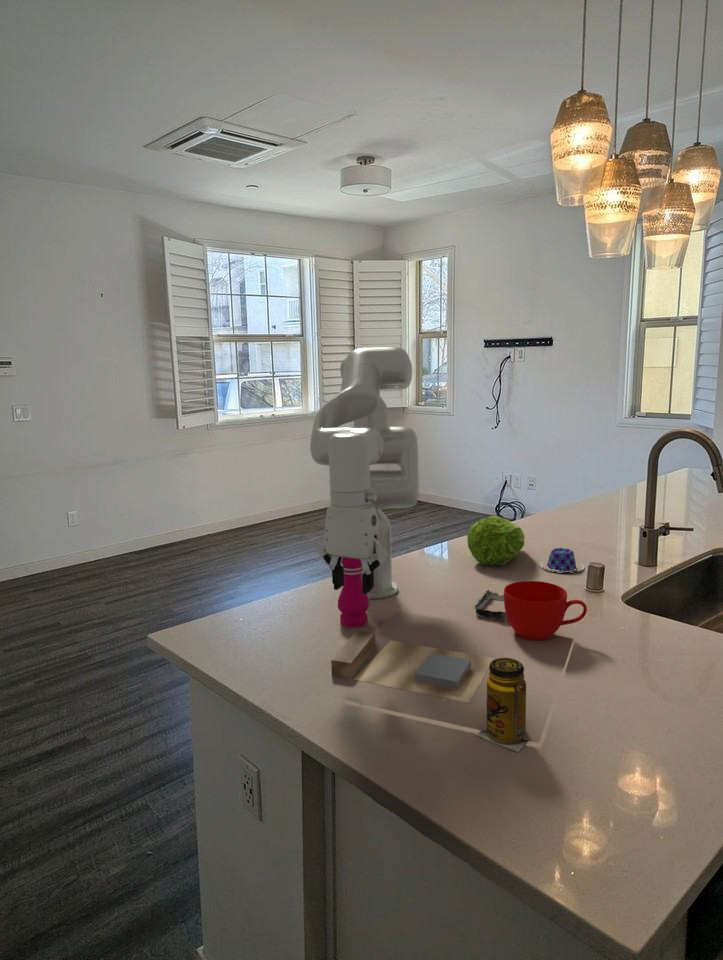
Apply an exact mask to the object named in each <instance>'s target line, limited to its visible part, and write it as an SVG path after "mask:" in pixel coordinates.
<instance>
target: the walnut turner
mask: <svg viewBox="0 0 723 960" xmlns="http://www.w3.org/2000/svg"><path fill="white" fill-rule="evenodd" d="M376 639H377V638H376V632H373V631H367V630H366V631H365V630H360V629H359V630H356V631H355V632H354V633H353V634H352V635H351V637H350V638H349V639H348V640H347V641H346V642H345V644H344V645H343V646H342V647H341V648H340V650H338V651H337V653H336V654H335V655H334V656H333V658H332V659H331V660H330V663H331V664H330V665H331V676H334V677H338V678H347V679H352V678H353V677H354V675H355V674H357V672H358V670H359V669H361V667H362V666H363V664H364V663H365V661H367V659H368V657H369V656H370V655H371V654H372V653H373V652H374V649H375V648H376V645H377V644H376Z"/></svg>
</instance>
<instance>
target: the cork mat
mask: <svg viewBox="0 0 723 960" xmlns="http://www.w3.org/2000/svg"><path fill="white" fill-rule="evenodd" d="M431 653H435V654H440V655H446V656H451V657H457V658H463V659H468V660H471V668H470V670H469V671H468V673H467V675H466V676H465V678H464V679H463V681H462V683H461V684H460V686H459V688H458V689H457V690H452V689H447V688H442V687H437V686H432V685H427V684H422V683H417V682H416V681H415V673H416V671H417V670H418V669H419V668H420V666H421V665H422V664H423V662H424V661H425V660H426V659H427V657H428V656H429V655H430V654H431ZM494 659H495V657H488V656H485V655H477V654H473V653H466V652H461V651H455V650H454V651H453V650H448V649H444V648H443V649H442V648H436V647H431V646H426V645H425V646H424V645H419V644H415V643H414V644H413V643H410V642H409V643H408V642H401V641H397V640H396V641H395V640H389V642H388V643H387V644H386V645H384V646H383V648H382V649H381V650H380V651H379V652H378V653H377V654H376V655H375V656H374V658H372V659H371V660H370V661H369V662H368V664H367V665H366V666H364V668H362V670H361V671H360V672H359V673H358V674H357V675H356V676H355V677H354V678H353V680H354V681H360V682H364V683H370V684H372V685H373V684H374V685H379V686H384V687H389V688H393V689H398V690H402V691H407V692H413V693H418V694H422V695H428V696H433V697H435V698H436V697H437V698H442V699H446V700H452V701H455V702H456V701H457V702H461V703H465V704H470V702H471V700H472V699H473V697H474V695H475V694H476V691H477V690H478V689H479V686H480V684H481V682H482V681H483V679H484V677H485V675H486V674H487V672H488V670H489V669H490V667H489V666H490V663H491V662H492V661H493V660H494Z"/></svg>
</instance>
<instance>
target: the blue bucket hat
mask: <svg viewBox="0 0 723 960" xmlns="http://www.w3.org/2000/svg"><path fill="white" fill-rule="evenodd" d="M548 557H549V558H548V559H546V560H543V561H541V562H540V563H539V566H540V567H541V568H542V569H544V570H546V571H549V572H553V573H554V570H552V571H550V570H547V569H545V568H543V566H542V564H543V562H546V561H548V563H547V566H548V567H549V568H550V569H555V570H559V571H562V570H563V571H570V570H574V569H576V570H577V568H576V562H577V563H579V562H578V561H576V559H575V553H574V551H573V550H571V549H570V548H564V547H559V548H558V547H555V548H554V549H552V550H551V551H550V554H549V556H548ZM580 564H581V565H582V566H583V568H582V570H580V571H577V572H576V573H578V572H581V571H583V570H585V565H583V564H582V563H580ZM548 567H547V568H548ZM558 573H563V572H558ZM570 573H571V574H572V573H575V572H573V571H571V572H570ZM570 573H569V574H570ZM563 574H564V573H563Z"/></svg>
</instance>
